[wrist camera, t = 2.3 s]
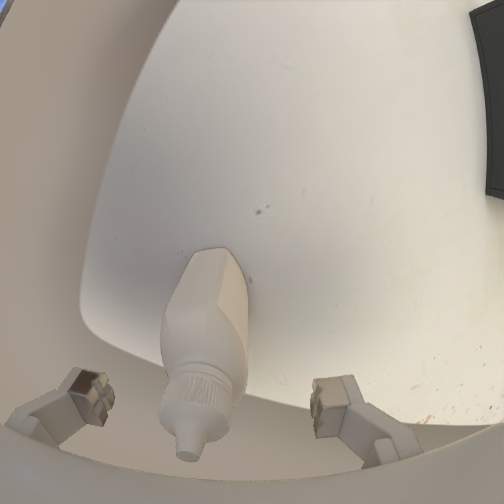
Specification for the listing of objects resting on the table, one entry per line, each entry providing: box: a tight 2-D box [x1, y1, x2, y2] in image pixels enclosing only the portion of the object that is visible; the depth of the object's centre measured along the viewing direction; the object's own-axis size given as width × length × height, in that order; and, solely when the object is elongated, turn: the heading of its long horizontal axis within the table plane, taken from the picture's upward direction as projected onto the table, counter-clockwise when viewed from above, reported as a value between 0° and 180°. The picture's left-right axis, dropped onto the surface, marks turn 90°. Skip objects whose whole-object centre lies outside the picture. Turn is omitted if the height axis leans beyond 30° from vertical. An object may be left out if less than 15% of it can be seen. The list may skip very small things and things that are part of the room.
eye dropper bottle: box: [158, 248, 248, 462], centre depth 13 cm, size 4×6×12 cm
